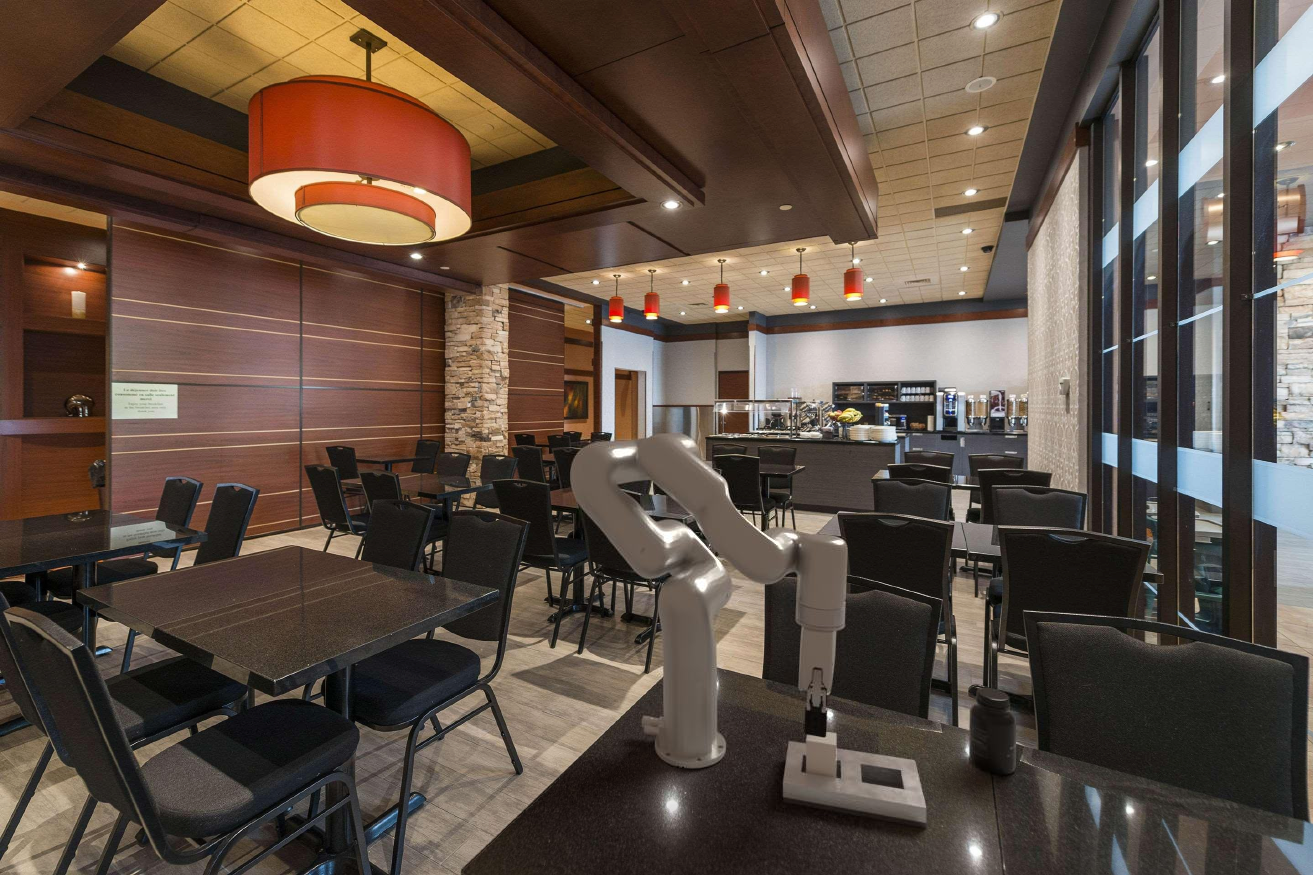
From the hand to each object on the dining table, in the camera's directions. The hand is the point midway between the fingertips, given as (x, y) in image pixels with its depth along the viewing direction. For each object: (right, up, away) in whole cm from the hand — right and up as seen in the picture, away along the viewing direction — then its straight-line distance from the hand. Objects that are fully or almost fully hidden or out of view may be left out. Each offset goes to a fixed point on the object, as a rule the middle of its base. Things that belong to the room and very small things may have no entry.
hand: (816, 718), depth 92 cm
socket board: (+5, -11, -1) cm, 12 cm away
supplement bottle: (+31, -10, +5) cm, 33 cm away
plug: (+1, -10, 0) cm, 10 cm away
